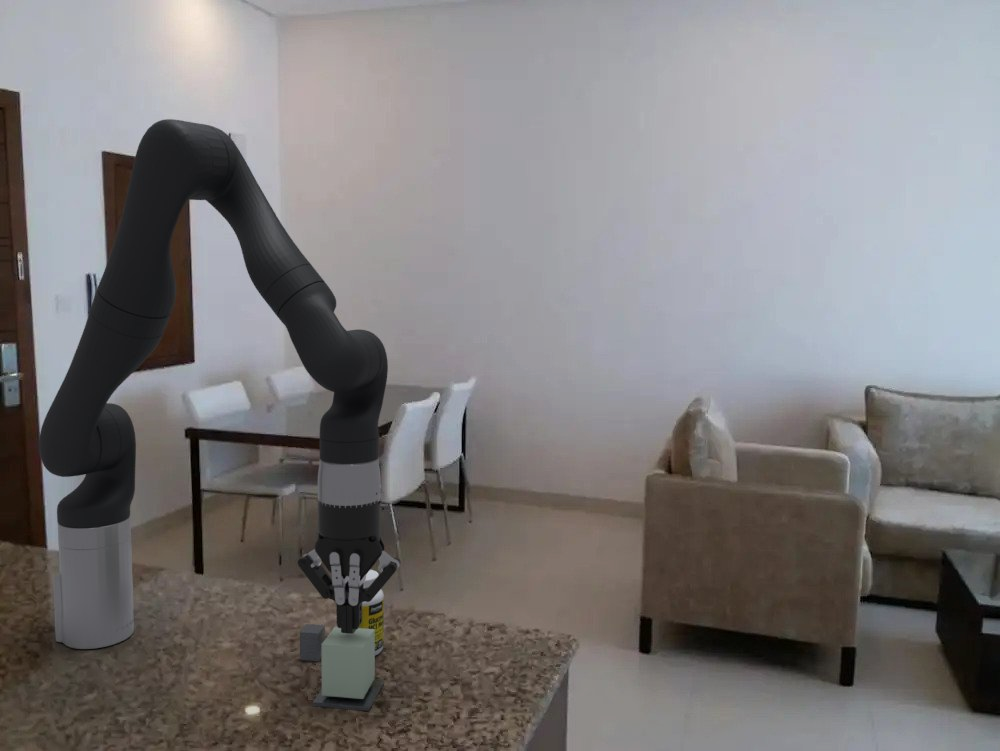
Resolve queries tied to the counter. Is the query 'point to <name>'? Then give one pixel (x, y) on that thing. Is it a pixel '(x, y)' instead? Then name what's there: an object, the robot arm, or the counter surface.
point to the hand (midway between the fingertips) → (349, 630)
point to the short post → (311, 642)
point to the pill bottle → (374, 612)
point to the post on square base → (351, 699)
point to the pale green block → (348, 663)
